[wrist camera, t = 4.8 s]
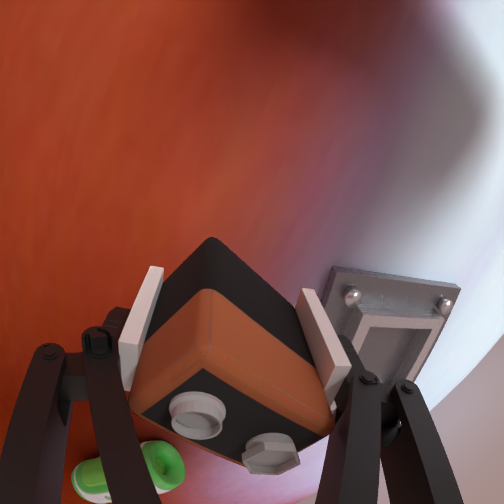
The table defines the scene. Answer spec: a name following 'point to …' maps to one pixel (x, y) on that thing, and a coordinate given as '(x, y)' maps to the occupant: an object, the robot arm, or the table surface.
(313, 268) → the table surface
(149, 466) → the speaker
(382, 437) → the robot arm
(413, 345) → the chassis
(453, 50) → the table surface
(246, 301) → the battery
